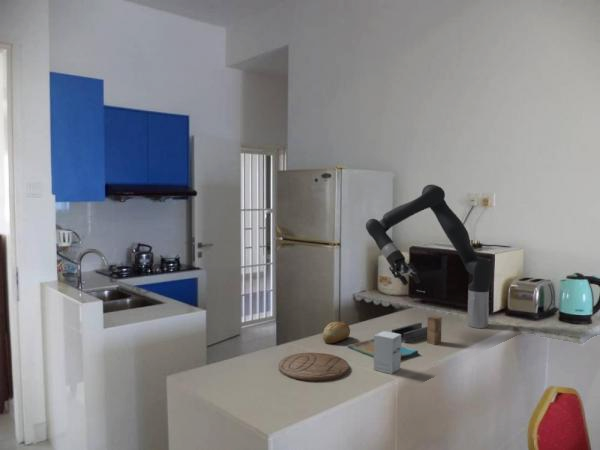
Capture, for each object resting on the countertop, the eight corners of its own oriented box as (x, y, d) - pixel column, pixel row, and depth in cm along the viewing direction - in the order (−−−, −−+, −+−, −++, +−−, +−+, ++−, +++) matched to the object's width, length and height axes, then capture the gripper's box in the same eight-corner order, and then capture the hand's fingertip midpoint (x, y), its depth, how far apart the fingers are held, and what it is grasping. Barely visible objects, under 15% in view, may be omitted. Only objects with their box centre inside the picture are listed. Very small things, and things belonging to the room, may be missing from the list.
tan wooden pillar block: (433, 340, 201) (434, 315, 201) (441, 342, 199) (441, 317, 198) (427, 342, 198) (427, 317, 198) (434, 345, 196) (434, 319, 195)
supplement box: (391, 374, 162) (392, 338, 161) (372, 369, 166) (373, 334, 166) (401, 368, 168) (401, 333, 167) (382, 364, 172) (383, 330, 171)
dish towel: (389, 365, 172) (390, 358, 172) (346, 349, 191) (346, 343, 191) (420, 356, 182) (420, 350, 182) (376, 341, 201) (376, 336, 201)
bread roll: (355, 338, 204) (356, 320, 203) (336, 346, 192) (336, 327, 192) (337, 334, 210) (337, 317, 209) (317, 342, 198) (318, 323, 198)
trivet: (354, 361, 176) (354, 356, 176) (340, 386, 152) (340, 380, 152) (291, 354, 183) (291, 349, 183) (268, 377, 159) (268, 372, 159)
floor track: (419, 331, 216) (419, 322, 216) (433, 334, 210) (433, 326, 210) (391, 338, 204) (391, 329, 203) (405, 343, 198) (405, 333, 198)
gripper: (387, 250, 208) (407, 279, 199) (407, 248, 217) (427, 276, 209) (378, 261, 212) (397, 290, 204) (398, 258, 221) (417, 286, 213)
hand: (412, 283), depth 206 cm, fingers open, 8 cm apart
